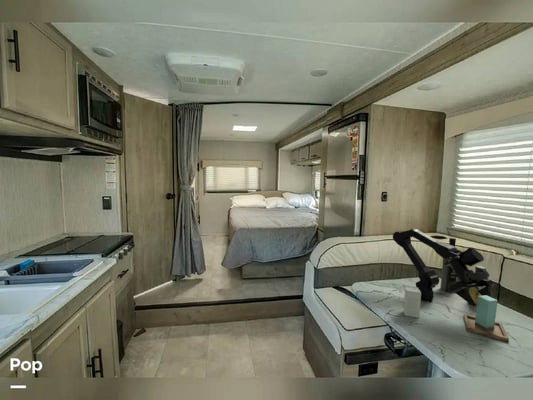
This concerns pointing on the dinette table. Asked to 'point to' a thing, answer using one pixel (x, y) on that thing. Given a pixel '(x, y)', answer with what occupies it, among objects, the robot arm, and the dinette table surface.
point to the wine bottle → (448, 271)
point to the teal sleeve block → (486, 312)
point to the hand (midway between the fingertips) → (483, 305)
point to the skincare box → (412, 302)
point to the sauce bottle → (474, 291)
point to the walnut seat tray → (496, 333)
